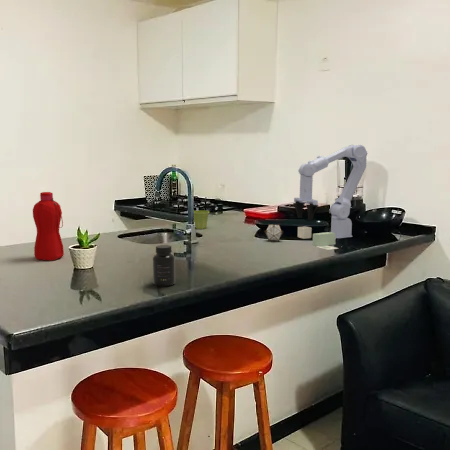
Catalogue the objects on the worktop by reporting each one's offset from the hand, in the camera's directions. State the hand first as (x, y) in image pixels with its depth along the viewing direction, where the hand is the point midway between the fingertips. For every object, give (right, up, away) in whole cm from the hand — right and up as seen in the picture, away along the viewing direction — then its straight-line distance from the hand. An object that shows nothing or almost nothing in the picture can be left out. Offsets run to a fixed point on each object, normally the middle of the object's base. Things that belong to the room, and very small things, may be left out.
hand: (304, 218), depth 239 cm
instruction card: (+6, -13, -22) cm, 26 cm away
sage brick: (+6, -12, -16) cm, 20 cm away
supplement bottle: (-56, -22, -80) cm, 100 cm away
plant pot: (-50, -5, +26) cm, 57 cm away
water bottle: (-103, -16, -47) cm, 114 cm away
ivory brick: (0, -9, +1) cm, 9 cm away
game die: (-15, -10, -8) cm, 20 cm away
